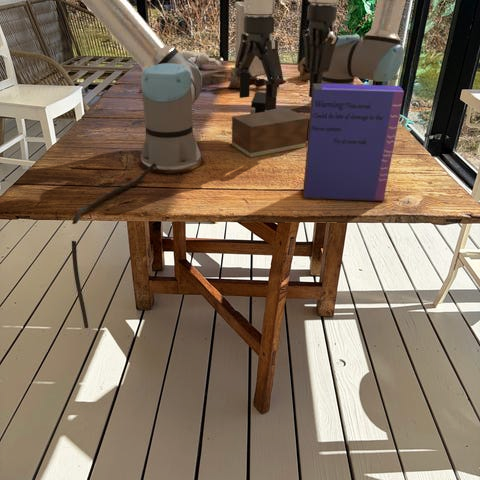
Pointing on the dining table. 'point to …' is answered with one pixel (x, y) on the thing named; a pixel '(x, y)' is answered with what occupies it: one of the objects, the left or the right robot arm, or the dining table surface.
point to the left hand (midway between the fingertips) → (256, 103)
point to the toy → (199, 58)
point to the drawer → (308, 124)
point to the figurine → (236, 79)
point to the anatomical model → (303, 70)
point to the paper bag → (256, 64)
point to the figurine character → (258, 103)
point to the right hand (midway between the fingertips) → (314, 96)
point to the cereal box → (351, 141)
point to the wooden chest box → (269, 132)
